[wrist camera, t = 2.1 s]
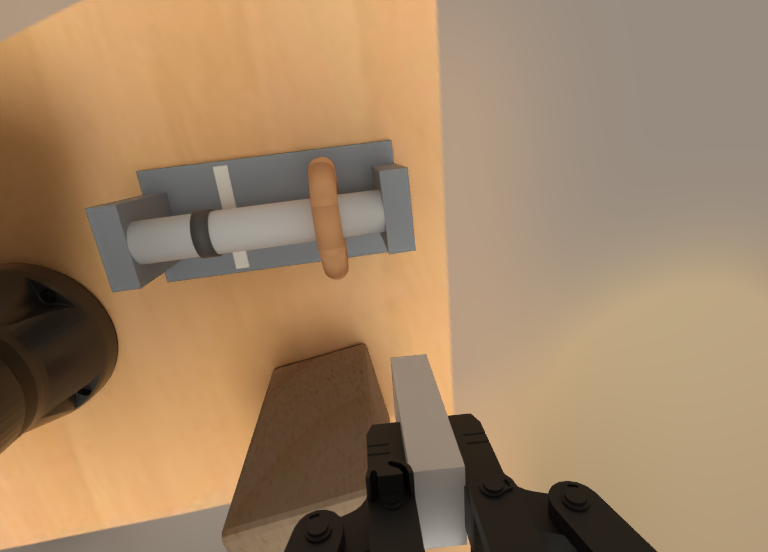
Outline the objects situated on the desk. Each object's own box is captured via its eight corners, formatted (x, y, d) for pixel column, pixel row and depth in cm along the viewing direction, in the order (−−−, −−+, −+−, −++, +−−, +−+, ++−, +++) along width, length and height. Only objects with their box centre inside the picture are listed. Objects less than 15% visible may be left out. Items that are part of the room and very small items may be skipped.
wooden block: (365, 341, 44) (381, 490, 25) (390, 419, 47) (422, 607, 28) (272, 368, 44) (216, 539, 25) (303, 445, 47) (274, 651, 28)
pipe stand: (171, 279, 40) (119, 318, 31) (141, 171, 37) (73, 178, 28) (401, 247, 41) (418, 276, 32) (389, 140, 38) (404, 137, 29)
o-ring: (328, 260, 37) (324, 293, 29) (311, 157, 35) (301, 160, 26) (349, 258, 37) (350, 289, 29) (333, 154, 35) (330, 156, 26)
